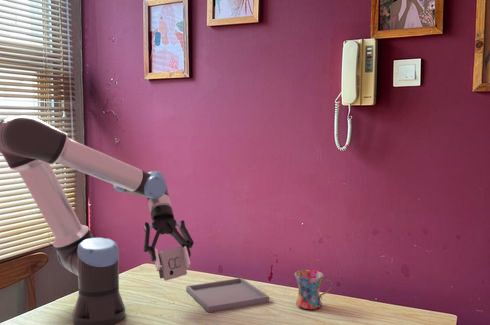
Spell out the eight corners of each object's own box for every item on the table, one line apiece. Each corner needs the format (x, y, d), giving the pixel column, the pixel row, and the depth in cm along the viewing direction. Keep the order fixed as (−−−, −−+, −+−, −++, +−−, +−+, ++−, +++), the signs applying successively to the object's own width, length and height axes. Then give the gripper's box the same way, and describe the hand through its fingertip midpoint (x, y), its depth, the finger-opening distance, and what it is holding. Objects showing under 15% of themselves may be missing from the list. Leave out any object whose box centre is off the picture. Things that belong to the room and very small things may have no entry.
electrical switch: (165, 281, 141) (164, 251, 141) (155, 279, 144) (153, 250, 144) (187, 275, 148) (186, 247, 148) (176, 273, 152) (175, 245, 152)
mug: (293, 310, 143) (293, 277, 143) (295, 300, 153) (295, 269, 152) (331, 313, 141) (332, 280, 140) (331, 302, 150) (332, 271, 150)
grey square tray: (208, 313, 141) (208, 307, 141) (186, 291, 160) (186, 285, 160) (269, 302, 150) (269, 296, 150) (241, 282, 170) (241, 277, 169)
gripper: (188, 215, 164) (202, 269, 150) (127, 218, 154) (137, 277, 141) (193, 202, 159) (209, 258, 145) (131, 204, 149) (141, 264, 136)
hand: (173, 267), depth 143 cm, fingers closed on electrical switch, 9 cm apart
